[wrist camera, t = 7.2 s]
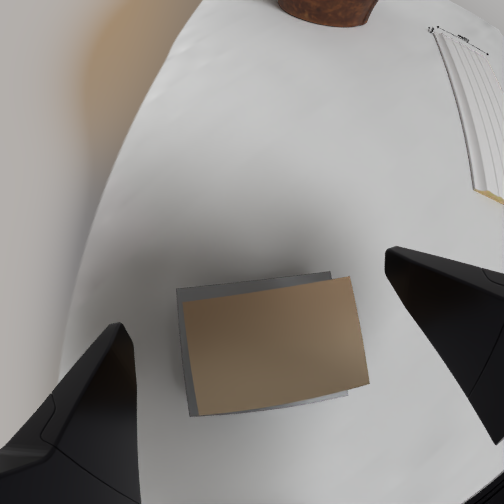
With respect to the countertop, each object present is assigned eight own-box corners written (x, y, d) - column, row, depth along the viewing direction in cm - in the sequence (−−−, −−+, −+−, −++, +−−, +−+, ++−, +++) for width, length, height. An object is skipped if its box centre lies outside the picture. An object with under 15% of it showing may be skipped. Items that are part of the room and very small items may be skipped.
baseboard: (458, 188, 24) (531, 224, 23) (475, 173, 21) (547, 214, 20) (423, 32, 33) (482, 63, 32) (429, 19, 30) (489, 52, 29)
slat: (300, 364, 18) (369, 383, 7) (226, 376, 17) (199, 415, 7) (292, 317, 19) (349, 276, 8) (219, 328, 18) (182, 301, 8)
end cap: (332, 388, 18) (348, 395, 15) (198, 406, 17) (189, 416, 14) (317, 283, 20) (330, 271, 17) (187, 298, 20) (176, 288, 17)
